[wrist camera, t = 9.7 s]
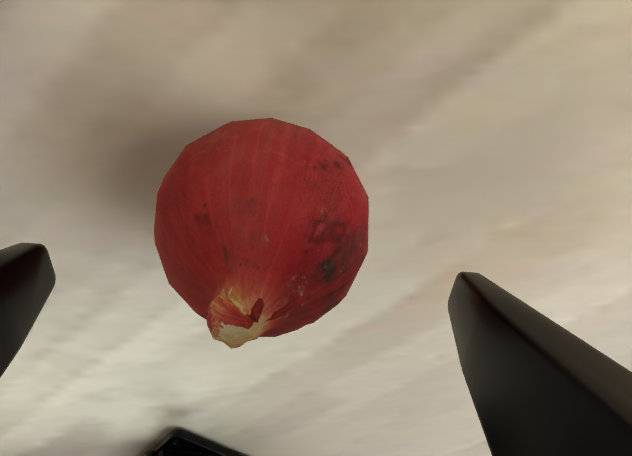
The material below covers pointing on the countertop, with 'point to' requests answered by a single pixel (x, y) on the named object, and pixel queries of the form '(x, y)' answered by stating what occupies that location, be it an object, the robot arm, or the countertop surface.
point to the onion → (261, 228)
